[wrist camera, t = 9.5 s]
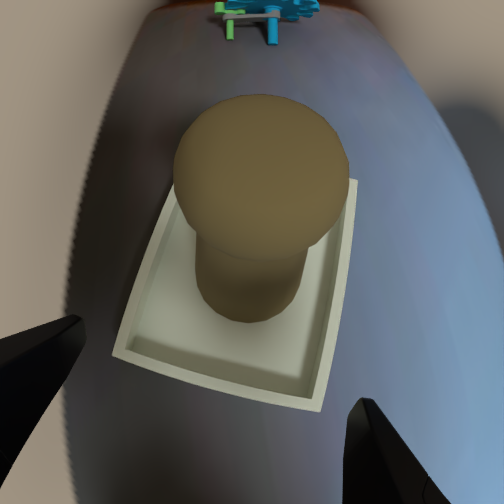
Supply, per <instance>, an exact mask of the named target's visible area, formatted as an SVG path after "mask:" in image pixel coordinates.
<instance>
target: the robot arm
mask: <svg viewBox="0 0 504 504" xmlns="http://www.w3.org/2000/svg"><path fill="white" fill-rule="evenodd" d="M86 338H87V336H86V328H85V321H84V319H83V318H81V317H79V316H77V315H74V314H72V315H69V316H66V317H63V318H60V319H57V320H54V321H52V322H49V323H46V324H43V325H40V326H37V327H34V328H31V329H28V330H25V331H22V332H19V333H17V334H14V335H11V336H8V337H5V338H2V339H0V488H1V486H2V484H3V482H4V480H5V478H6V477H7V475H8V473H9V471H10V469H11V467H12V465H13V464H14V462H15V460H16V458H17V456H18V455H19V453H20V451H21V450H22V448H23V446H24V445H25V443H26V441H27V439H28V438H29V436H30V434H31V433H32V431H33V430H34V428H35V426H36V425H37V423H38V422H39V420H40V418H41V417H42V415H43V414H44V412H45V410H46V409H47V407H48V406H49V404H50V403H51V401H52V400H53V398H54V396H55V395H56V393H57V392H58V390H59V389H60V387H61V386H62V384H63V383H64V381H65V380H66V378H67V377H68V375H69V373H70V371H71V369H72V367H73V365H74V363H75V362H76V360H77V358H78V356H79V354H80V352H81V350H82V349H83V347H84V345H85V343H86ZM342 504H451V503H450V502H449V501H448V499H447V498H446V497H445V496H444V495H443V494H442V492H441V491H440V490H439V488H438V487H437V486H436V484H435V483H434V482H433V480H432V479H431V478H430V476H428V474H427V472H426V471H425V469H424V468H423V467H422V465H421V464H420V463H419V461H418V460H417V458H416V457H415V456H414V454H413V453H412V452H411V450H410V449H409V447H408V446H407V445H406V443H405V442H404V441H403V439H402V438H401V437H400V435H399V434H398V432H397V431H396V430H395V428H394V427H393V426H392V424H391V423H390V422H389V420H388V419H387V417H386V416H385V415H384V413H383V412H382V411H381V409H380V408H379V407H378V405H377V404H376V403H375V401H374V400H373V399H370V398H363V397H362V398H360V399H359V400H358V401H357V402H356V404H355V405H354V407H353V408H352V410H351V411H350V413H349V415H348V418H347V428H346V438H345V447H344V456H343V497H342Z"/></svg>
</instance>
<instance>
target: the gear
mask: <svg viewBox="0 0 504 504" xmlns="http://www.w3.org/2000/svg"><path fill="white" fill-rule="evenodd" d="M224 5H225V10H224ZM319 11H320V9H319V3H318V2H317V0H228V3H223V2H217V3H215V14H216V15H223V14H224V15H223V16H222V21H223V22H224V23H227V40H234V23H240V22H268V45H278V21H280V17H283V18H286V19H288V20H290V21H296V20H299V16H303V17H307V18H310V17H312V16H313V12H319ZM246 13H250V14H246Z"/></svg>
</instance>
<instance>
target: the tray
mask: <svg viewBox="0 0 504 504" xmlns="http://www.w3.org/2000/svg"><path fill="white" fill-rule="evenodd" d="M357 182H358V180H354V179H351V178H349V191H348V196H347V199H346V201H345V204H344V207H343V209H342V212H341V214H340V217H339V218H338V220H337V221H336V223H335V224H334V226H333V227H332V228H331V229H330V230H329V231H328V232H327V233H326V234H325V235H324V236H323V237H322V238H321V239H320V240H319V241H318V242H317V244H315V245H313V246H311V247H309V249H308V253H307V257H306V262H305V266H304V270H303V274H302V279H301V283H300V286H299V289H298V291H297V293H296V295H295V297H294V299H293V301H292V302H291V303H290V304H289V305H288V306H287V307H286V308H285V309H284V310H283V311H282V313H280V314H278V315H276V316H274V317H272V318H270V319H268V320H266V321H261V322H254V323H243V322H237V321H231V320H229V319H227V318H225V317H224V316H222V315H220V314H218V313H216V312H215V311H214V310H213V309H212V308H211V307H210V306H209V305H208V304H207V303H206V302H205V301H204V299H203V297H202V295H201V293H200V291H199V289H198V287H197V282H196V273H195V255H196V231H195V230H194V229H193V228H192V227H191V226H190V225H189V224H188V223H187V221H186V219H185V217H184V215H183V212H182V210H181V208H180V206H179V204H178V202H177V199H176V196H175V193H174V183H173V186H172V188H171V190H170V193H169V195H168V197H167V200H166V202H165V204H164V207H163V209H162V212H161V214H160V217H159V219H158V221H157V224H156V226H155V229H154V232H153V234H152V237H151V239H150V242H149V244H148V247H147V250H146V252H145V255H144V258H143V260H142V263H141V266H140V269H139V271H138V274H137V277H136V280H135V283H134V286H133V289H132V292H131V295H130V298H129V301H128V304H127V307H126V310H125V313H124V316H123V319H122V322H121V326H120V329H119V332H118V335H117V339H116V342H115V346H114V349H113V353H112V356H114V357H117V358H119V359H122V360H124V361H127V362H130V363H132V364H135V365H138V366H140V367H143V368H146V369H149V370H152V371H155V372H158V373H161V374H164V375H167V376H170V377H173V378H176V379H179V380H182V381H185V382H189V383H192V384H195V385H199V386H202V387H206V388H209V389H213V390H217V391H221V392H224V393H228V394H232V395H236V396H240V397H244V398H249V399H253V400H257V401H262V402H267V403H271V404H276V405H281V406H287V407H292V408H297V409H303V410H309V411H315V412H320V411H321V407H322V403H323V399H324V395H325V391H326V386H327V382H328V378H329V373H330V369H331V364H332V359H333V354H334V349H335V344H336V339H337V334H338V329H339V323H340V318H341V312H342V306H343V300H344V294H345V287H346V281H347V274H348V267H349V259H350V252H351V244H352V235H353V226H354V217H355V206H356V195H357Z"/></svg>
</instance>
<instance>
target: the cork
mask: <svg viewBox="0 0 504 504" xmlns="http://www.w3.org/2000/svg"><path fill="white" fill-rule="evenodd" d="M173 182H174V193H175V196H176V199H177V202H178V204H179V206H180V208H181V210H182V212H183V215H184V217H185V219H186V221H187V223H188V224H189V225H190V226H191V227H192V228H193V229H194V230H195V231H196V255H195V273H196V282H197V287H198V289H199V291H200V293H201V295H202V297H203V299H204V301H205V302H206V303H207V304H208V305H209V306H210V307H211V308H212V309H213V310H214V311H215V312H216V313H218V314H220V315H222V316H224V317H225V318H227V319H229V320H231V321H237V322H243V323H254V322H261V321H266V320H268V319H270V318H272V317H274V316H276V315H278V314H280V313H282V311H283V310H284V309H285V308H286V307H287V306H288V305H289V304H290V303H291V302H292V301H293V299H294V297H295V295H296V293H297V291H298V289H299V286H300V283H301V279H302V274H303V270H304V266H305V262H306V257H307V253H308V249H309V247H311V246H313V245H315V244H317V242H318V241H319V240H320V239H321V238H322V237H323V236H324V235H325V234H326V233H327V232H328V231H329V230H330V229H331V228H332V227H333V226H334V224H335V223H336V221H337V220H338V218H339V217H340V214H341V212H342V209H343V207H344V204H345V201H346V199H347V196H348V191H349V161H348V159H347V156H346V154H345V151H344V149H343V146H342V144H341V142H340V139H339V137H338V135H337V133H336V131H335V130H334V129H333V128H332V127H331V126H330V124H329V123H328V122H327V121H326V120H325V119H324V118H323V117H322V116H321V115H319V114H318V113H316V112H315V111H313V110H312V109H310V108H309V107H307V106H306V105H304V104H301V103H298V102H296V101H293V100H291V99H288V98H285V97H279V96H273V95H266V94H254V95H240V96H237V97H233V98H230V99H227V100H224V101H220V102H218V103H217V104H215V105H213V106H212V107H210V108H208V109H207V110H205V111H204V112H202V113H201V114H200V115H199V116H198V118H197V119H196V120H195V121H194V122H193V123H192V124H191V126H190V127H189V128H188V129H187V131H186V132H185V133H184V134H183V136H182V138H181V140H180V143H179V146H178V148H177V151H176V154H175V157H174V164H173Z"/></svg>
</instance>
